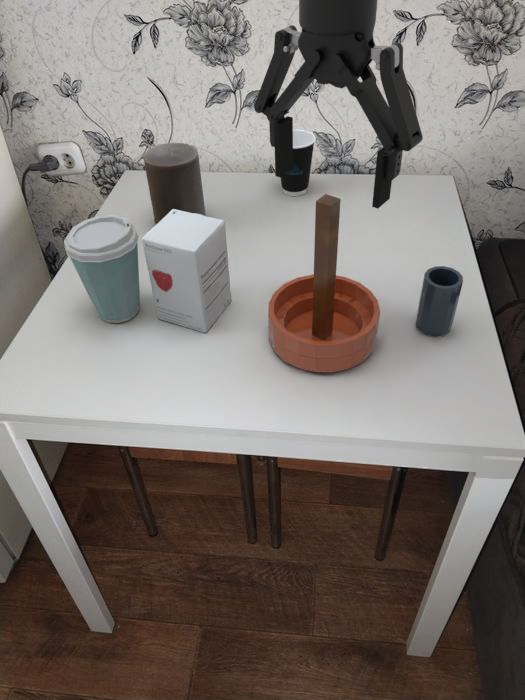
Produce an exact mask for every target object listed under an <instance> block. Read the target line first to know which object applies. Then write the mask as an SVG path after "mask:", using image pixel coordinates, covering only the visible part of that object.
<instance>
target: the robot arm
mask: <svg viewBox="0 0 525 700" xmlns="http://www.w3.org/2000/svg"><path fill="white" fill-rule="evenodd" d="M377 10H378V0H298V23H299V26H300V27H301V31H298V28H297V27H296V26H295V25H293V24H291V25H289V26H286V27H283V28H281V29H279V30H276V32H275V34H274V42H273V43H274V45H273V54H272V57H271V59H270V62H269V65H268V67H267V70H266V72H265V75H264V78H263V81H262V82H261V86H260V89H259V91H258V94H257V97H256V100H255V102H254V104H253V109H254V111H255V112H256V113H257V114H263V115H264V116H266V120H267V121H268V123H269V143H270V145H271V147H273V148H274V174H275V175H274V176H275V177H277V178H279V179H281V177H282V176H284V175H285V174H287V173H288V172H290V171H291V170H293V129H294V123H293V122H294V118H293V117H292V116H289V115H287V114H289V113H290V110H291V109H292V107H293V106H294V105H295V104H296V102H297V101H299V99H300V97H302V95H303V94H304V93H305V91H306V90H307V89H308V88H309V86H310V85H311V84H312V83H313V82H314V80H315V81H316V84H320V85H331V86H333V87H335V88H339V89H344V88H346V89H347V91H348V92H349V94H350V95H351V96H352V97H354V98H355V99H356V101H357V102H358V104H359V106H360V108H361V109H362V111H363V113H364V115H365V117H366V118H367V120H368V121H369V123H370V125H371V127H372V129H373V131H374V132H375V134H376V136H377V137H378V139H379V142H380V144H381V145H382V146H383V147H382V148H380V149H379V150H378V151H376V161H375V173H374V183H373V191H372V192H373V193H372V204H371V207H372V208H373V209H374V208H375V209H379V208H381V207H382V206H383V205H384V204H386V203H387V202H388V201H389V200H390V199H391V193H392V191H391V190H392V183H393V181H394V180H395V179H396V178H397V177H398V176H399V175H400V173H401V170H402V169H401V168H402V160H403V153H404V152H409V151H411V150H413V149H414V148H415V147H416V146H417V145H419V144H420V143H422V141H423V139H424V137H423V132H422V130H421V126H420V123H419V122H420V121H419V119H418V115H417V112H416V108H415V105H414V101H413V97H412V95H411V94H412V93H411V91H410V88H409V85H408V81H407V78H406V74H405V71H404V47H403V44H402V43H401V42H398V41H397V42H394V43H393V44H391V45H376V42H375V40H374V30H375V26H376V22H377V13H378V11H377ZM298 50H299V52H300V54H301V56H302V58H303V60H304V62H303V63H302V65H301V66H299V67H300V68H298V69H297V71H296V72H295V74H294V77H293V78H292V80H291V81H290V82H289V84H288V85H287V86H286V87H285V89H284V90H283V92H282V93H281V94H280V92H281V89H282V87H283V84H284V82H285V79H286V76H287V75H288V72H289V69H290V67H291V65H292V62H293V59H294V57H295V54H296V52H297V51H298ZM373 61H374V63H375V65H374V66H375V67H374V68H375V70H377V71H379V76H380V81H381V85H382V89H383V93H384V95H385V97H384V95H383V94H382V92H381V90H380V88H379V86H378V84H377V80H378V79H377V77H376V75H375V73H374V71H373V70H372V67H371V66H370V64H371V63H372V62H373ZM359 79H361V81H359ZM279 94H280V96H279ZM278 96H279V97H278ZM385 98H386V99H385ZM286 115H287V116H286ZM285 116H286V117H285Z"/></svg>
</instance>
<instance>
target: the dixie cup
mask: <svg viewBox="0 0 525 700" xmlns="http://www.w3.org/2000/svg"><path fill="white" fill-rule="evenodd" d="M316 140H317V137H316V135H315V134H314V133H313V132H311V131H308V130H305V129H298V128H296V129H295V128H293V170H291V171H290V172H288V173H287V174H285V175H284V176H282V177H281V178H280V184H281V188H282V192H283V193H284V195H287V196H289V197H299V196H303V195H305V194H306V193H307V191H308V188H309V183H310V177H311V168H312V161H313V153H314V145H315V142H316Z"/></svg>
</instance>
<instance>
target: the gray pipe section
mask: <svg viewBox="0 0 525 700" xmlns="http://www.w3.org/2000/svg"><path fill="white" fill-rule="evenodd" d="M423 276H424V277H423V280H422V285H421V291H420V296H419V301H418V306H417V312H416V319H415V327H416V330H418V331H419V332H420V333H421V334H423V335H424V336H428V337H433V338H441V337H444V336H446V335H448V334H449V333H450V332H451V330H452V327H453V324H454V320H455V316H456V311H457V308H458V303H459V300H460V296H461V291H462V288H463V285H464V277H463V275H462V274H461V272H460V271H458V270H456V269H455V268H453V267H450V266H446V265H444V266H443V265H440V266H432V267H429V268H428V269H427V270H426V271H425V272H424V275H423Z"/></svg>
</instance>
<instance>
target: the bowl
mask: <svg viewBox="0 0 525 700" xmlns="http://www.w3.org/2000/svg"><path fill="white" fill-rule="evenodd" d="M313 282H314V273H313V274H308V275H303V276H298V277H296V278H293V279H291V280H289V281H287V282H285V283H283V284H282V285H281V286H280V287H278V289H276V290H275V291H274V292H273V294H272V295H271V297H270V299H269V301H268V307H267V308H268V309H267V310H268V311H267V313H268V315H267V316H268V339H269V342H270V344H271V347H272V349H273V351H274V353H275V354H276V355H277V356H278V357H280V358H281V359H282V360H283V361H284V362H285V363H287V364H290V365H292V366H293V367H296V368H298V369H301V370H304V371H310V372H314V373H337V372H340V371H344V370H348V369H351V368H354V367H355V366H357V365H359V364H361V363H362V362H365V360H366V359H367V358H368V357H369V356H370V355H371V354H372V352H373V351H374V349H375V346H376V343H377V338H378V332H379V325H380V324H379V323H380V317H381V309H380V304H379V300H378V299H377V297H376V296H375V294H374V293H373V292H372V291H371V289H369V288H368V287H366V286H365V285H364V284H362V283H361V282H360V281H357V280H354V279H351V278H349V277H346V276H342V275H337V274H336V282H335V299H334V315H333V331H332V334H331V335H330V336H329V337H328V338H327V339H326V340H325V341H324V340H321V339H319V338H317V337H315V336H313V335H312V317H313Z"/></svg>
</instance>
